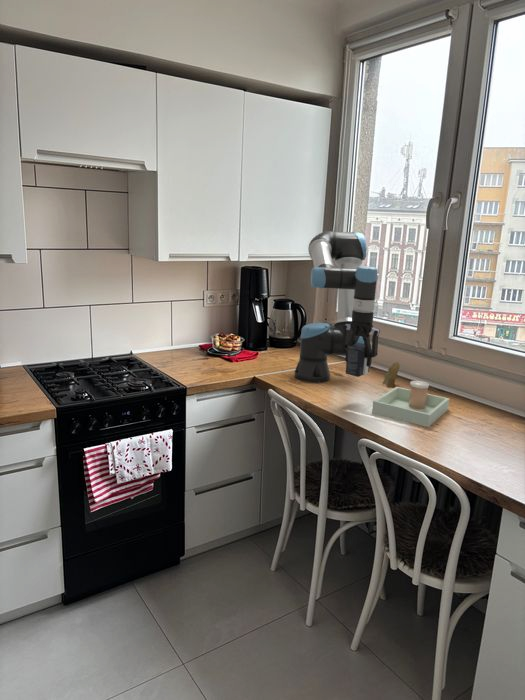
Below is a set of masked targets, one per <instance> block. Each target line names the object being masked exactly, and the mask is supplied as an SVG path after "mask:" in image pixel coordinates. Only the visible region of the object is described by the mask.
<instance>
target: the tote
mask: <svg viewBox="0 0 525 700" xmlns="http://www.w3.org/2000/svg"><path fill="white" fill-rule="evenodd" d="M409 397H410V388H409V389H408V388H403V387H399V386H395V387H393V388H392V389H391V390H388V391H387V392H386V393H384V394H382V395H381V396H379V397H378V398H376V399H374V400H372V409H371V412H372V414H376V415H379V416H384V417H388V418H391V419H395V420H399V421H403V422H407V423H410V424H414V425H418V426H423V427H425V428H426V427H428V428H429V427H430V426H431V425H433V424H434V423H435V422H436V421H437V420H438V419H439V418H440V417H441V416H443V415H444V414H445V413H447V411H448V410H449V406H450V398H449V397H444V396H440V395H434V394H430V393H427V399H426V407H425V408H424V409H414V408H411V407H409Z"/></svg>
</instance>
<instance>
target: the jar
mask: <svg viewBox="0 0 525 700" xmlns="http://www.w3.org/2000/svg"><path fill="white" fill-rule="evenodd" d="M409 385H410V388H409V390H410V397H409V407H411V408H414V409H424V408H425V407H426V399H427V394H428V390H429V389H428V388H429V387H430V384H429V383H428V382H427V381H422V380H411V381H410V382H409Z"/></svg>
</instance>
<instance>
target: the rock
mask: <svg viewBox="0 0 525 700" xmlns="http://www.w3.org/2000/svg"><path fill="white" fill-rule="evenodd" d="M400 365H401V364H400V363H399V362H398V361H395V362H394V363H392V365H390V367H389V368H388V370H387V371H386V372H385V375H384V379H383V381H382V384H383V385H385V386H386V388H390V389H391V388H392V389H394V385H395V383H396V379H397V377H398V373H399V369H400Z"/></svg>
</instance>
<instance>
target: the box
mask: <svg viewBox="0 0 525 700" xmlns="http://www.w3.org/2000/svg"><path fill="white" fill-rule="evenodd" d="M365 357H367V356H366V350H365V345H364V344H363V343H356V344H353V345H351V346H348V351H347V362H346V364H345V374H346V375H350V376H353V377H357V378H359V377H361V376H364V375H363V368H364V358H365ZM369 372H370V366H369V367H368V373H369Z"/></svg>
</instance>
